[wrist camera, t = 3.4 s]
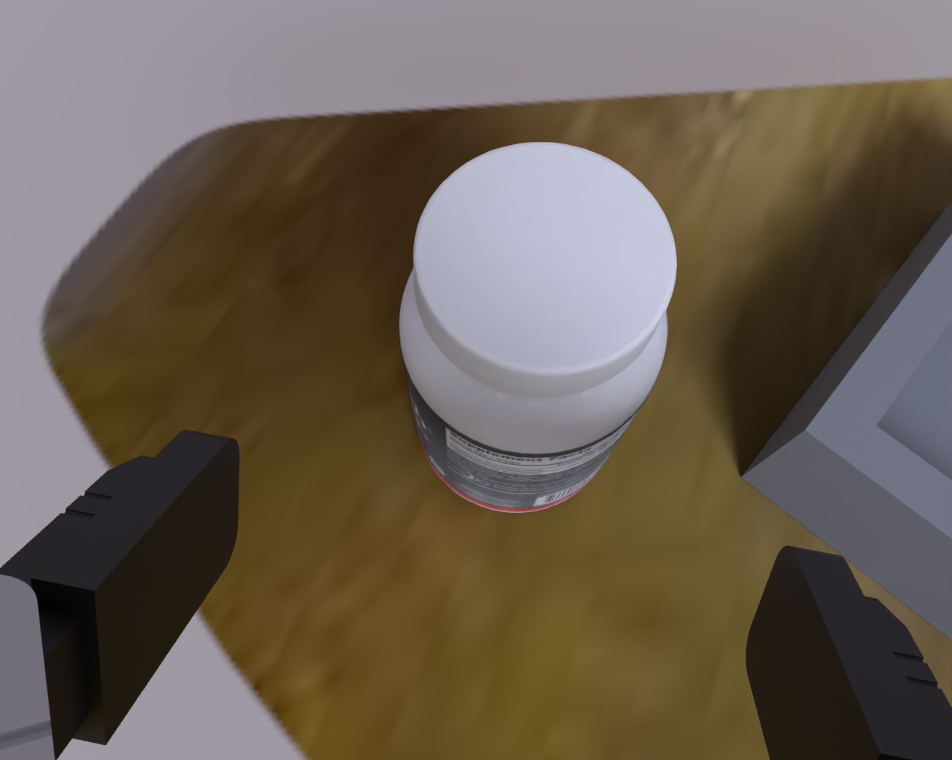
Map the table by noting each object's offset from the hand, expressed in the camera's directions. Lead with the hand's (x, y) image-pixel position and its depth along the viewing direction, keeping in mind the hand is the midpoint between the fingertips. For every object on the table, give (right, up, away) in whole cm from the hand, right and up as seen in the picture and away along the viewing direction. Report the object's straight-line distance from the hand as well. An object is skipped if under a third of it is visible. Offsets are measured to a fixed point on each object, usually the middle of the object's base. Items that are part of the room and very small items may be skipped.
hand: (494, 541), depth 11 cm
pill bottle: (+1, +1, +12) cm, 12 cm away
